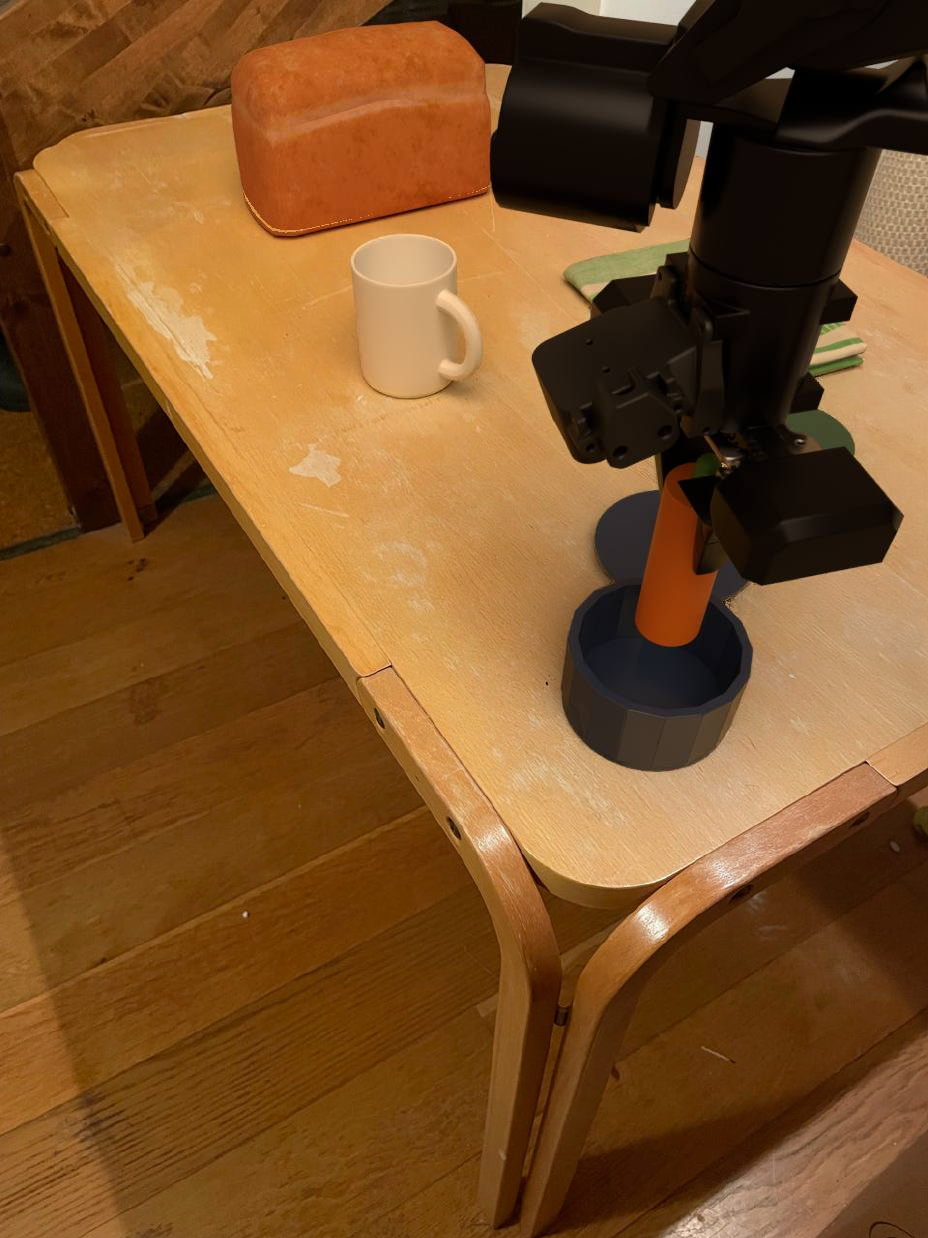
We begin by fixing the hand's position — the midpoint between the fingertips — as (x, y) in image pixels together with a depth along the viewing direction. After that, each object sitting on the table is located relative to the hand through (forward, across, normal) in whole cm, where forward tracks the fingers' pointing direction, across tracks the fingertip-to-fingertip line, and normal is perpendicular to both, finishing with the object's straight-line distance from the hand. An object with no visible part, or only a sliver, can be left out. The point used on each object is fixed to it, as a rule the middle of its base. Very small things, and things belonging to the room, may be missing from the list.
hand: (687, 545), depth 46 cm
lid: (+12, -11, +6) cm, 17 cm away
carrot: (+6, 0, 0) cm, 6 cm away
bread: (+13, -71, -5) cm, 73 cm away
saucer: (+12, -20, +19) cm, 30 cm away
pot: (+12, +1, 0) cm, 12 cm away
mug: (+13, -35, -6) cm, 38 cm away
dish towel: (+13, -38, +21) cm, 45 cm away
